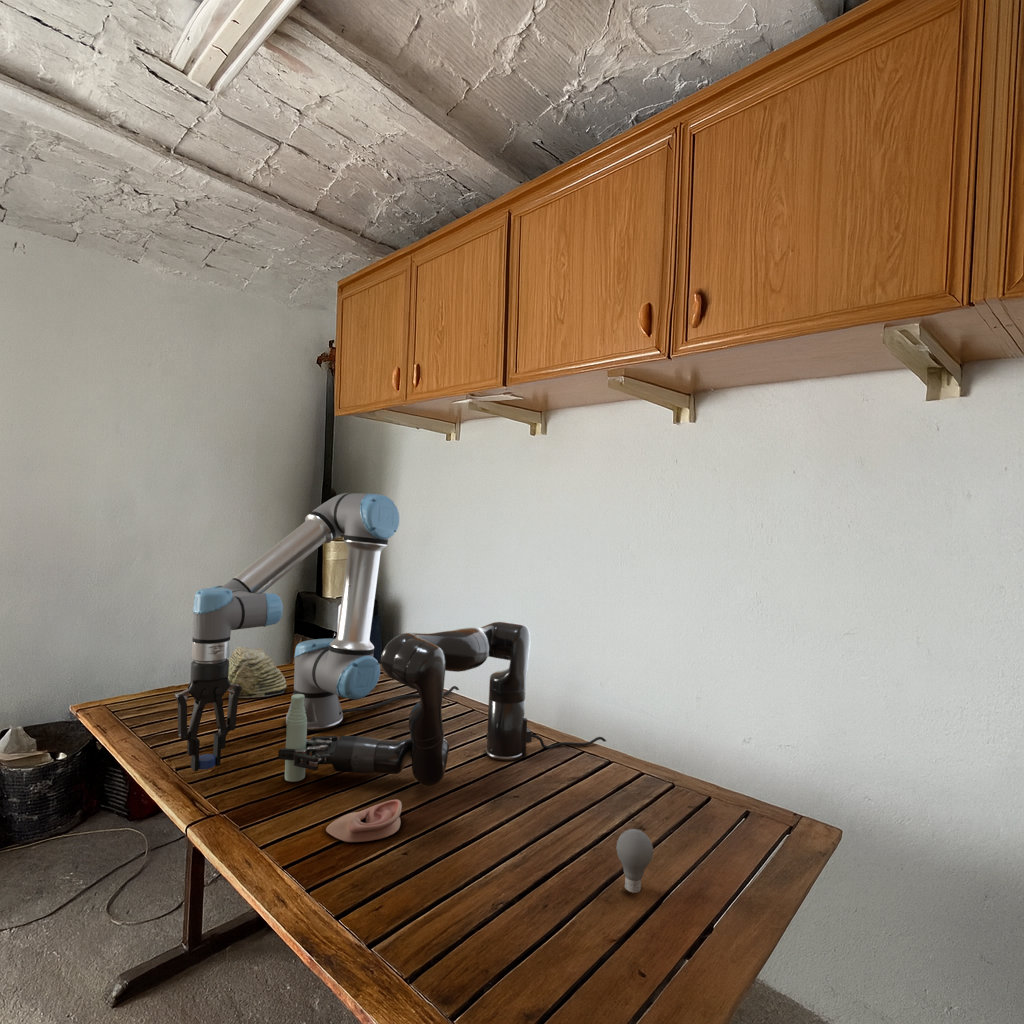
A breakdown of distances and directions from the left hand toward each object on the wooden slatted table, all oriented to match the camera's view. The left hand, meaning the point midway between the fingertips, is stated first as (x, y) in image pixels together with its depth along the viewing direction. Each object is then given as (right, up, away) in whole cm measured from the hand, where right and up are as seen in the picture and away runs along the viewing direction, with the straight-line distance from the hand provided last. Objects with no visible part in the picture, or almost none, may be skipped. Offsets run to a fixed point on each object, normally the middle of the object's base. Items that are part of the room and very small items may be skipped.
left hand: (205, 766), depth 138 cm
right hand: (+16, +2, +4) cm, 16 cm away
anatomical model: (+39, -5, -16) cm, 42 cm away
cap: (0, +2, 0) cm, 2 cm away
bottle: (+18, -4, +4) cm, 19 cm away
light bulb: (+87, -8, -33) cm, 93 cm away
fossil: (-14, -2, +60) cm, 61 cm away
